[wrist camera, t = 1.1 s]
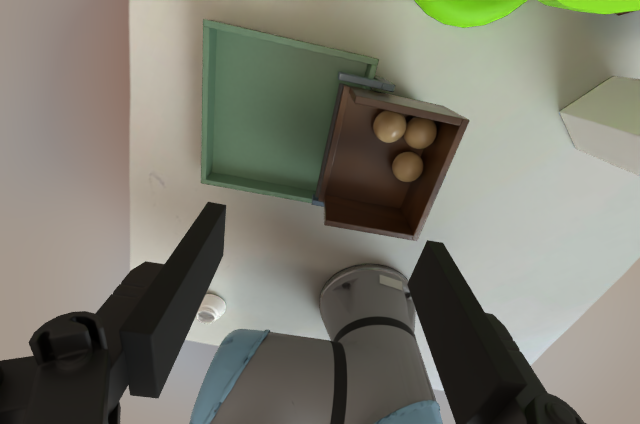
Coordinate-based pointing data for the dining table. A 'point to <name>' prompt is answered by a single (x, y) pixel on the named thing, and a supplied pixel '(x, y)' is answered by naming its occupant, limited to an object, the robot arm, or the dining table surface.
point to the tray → (269, 109)
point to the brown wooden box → (382, 165)
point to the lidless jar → (210, 309)
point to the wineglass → (511, 9)
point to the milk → (608, 123)
